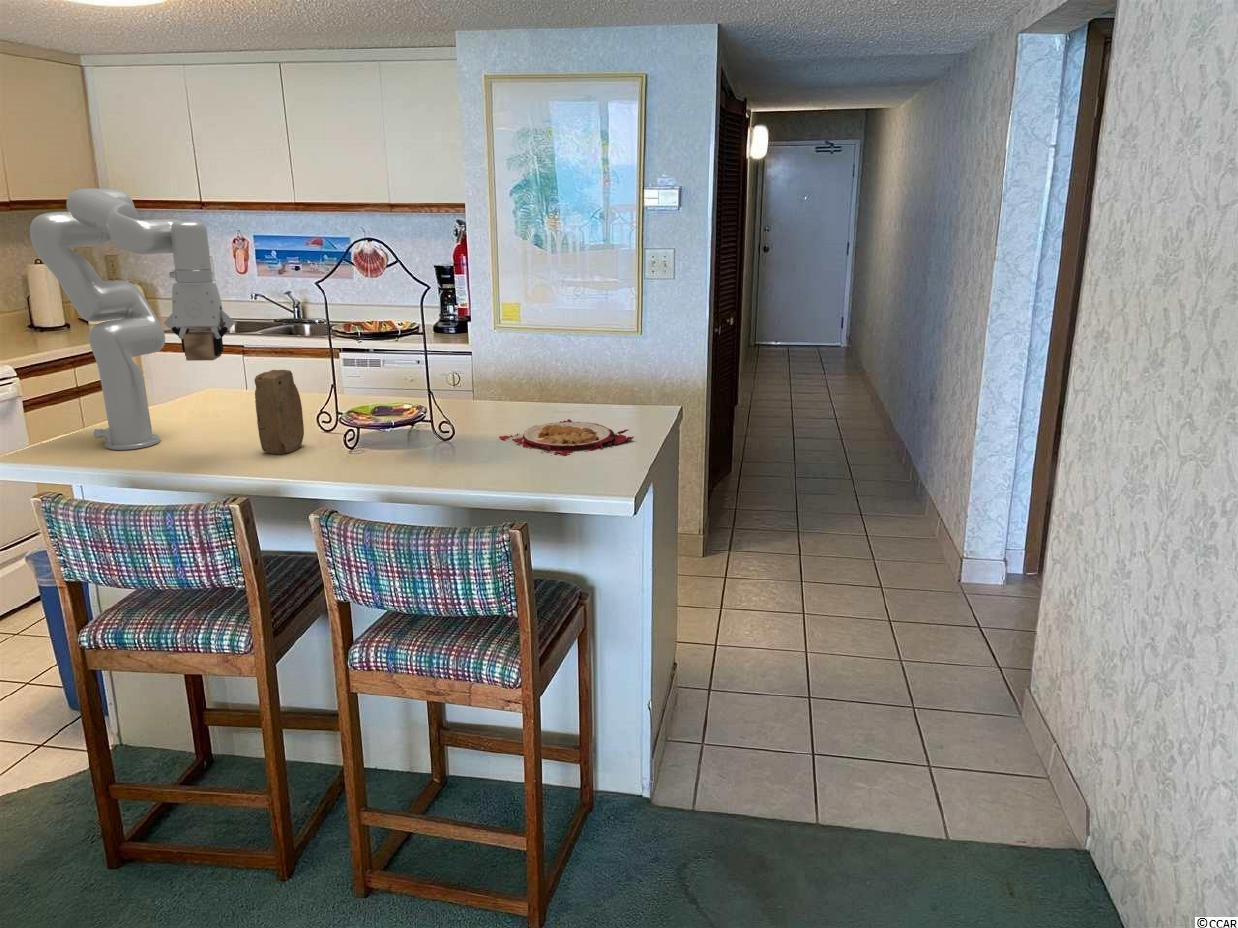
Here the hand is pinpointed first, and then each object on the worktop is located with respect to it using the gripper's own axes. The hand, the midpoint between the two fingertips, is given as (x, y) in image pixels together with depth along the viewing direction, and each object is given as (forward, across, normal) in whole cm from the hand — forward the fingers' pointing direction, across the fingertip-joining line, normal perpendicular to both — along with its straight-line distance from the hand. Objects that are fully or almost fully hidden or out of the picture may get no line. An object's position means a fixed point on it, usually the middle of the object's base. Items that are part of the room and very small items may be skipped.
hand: (203, 354), depth 208 cm
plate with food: (+25, +86, +7) cm, 89 cm away
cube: (+1, 0, 0) cm, 1 cm away
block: (+25, +15, +6) cm, 30 cm away
